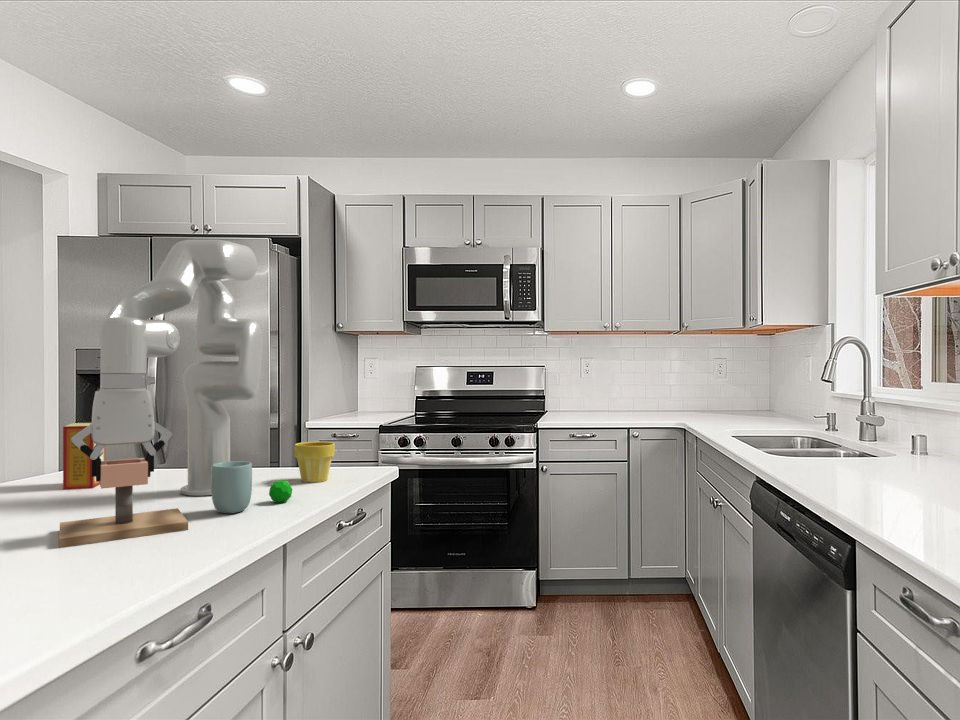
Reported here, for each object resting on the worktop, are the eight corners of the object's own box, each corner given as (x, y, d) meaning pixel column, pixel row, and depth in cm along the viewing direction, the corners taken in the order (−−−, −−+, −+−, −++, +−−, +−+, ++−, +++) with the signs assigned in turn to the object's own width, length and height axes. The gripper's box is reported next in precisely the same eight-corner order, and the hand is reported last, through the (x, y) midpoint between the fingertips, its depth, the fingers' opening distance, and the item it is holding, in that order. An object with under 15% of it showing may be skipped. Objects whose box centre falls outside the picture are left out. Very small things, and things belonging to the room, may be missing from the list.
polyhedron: (273, 505, 135) (273, 483, 135) (265, 501, 139) (265, 480, 139) (295, 502, 139) (295, 481, 139) (287, 498, 142) (287, 478, 142)
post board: (177, 515, 127) (177, 474, 127) (188, 529, 116) (188, 484, 116) (59, 530, 116) (59, 485, 116) (59, 547, 105) (59, 497, 105)
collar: (143, 478, 121) (143, 457, 121) (147, 484, 115) (147, 462, 115) (99, 482, 117) (99, 461, 117) (101, 488, 110) (101, 466, 110)
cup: (259, 508, 133) (259, 462, 133) (234, 517, 125) (234, 467, 125) (230, 506, 135) (230, 460, 135) (203, 514, 128) (203, 465, 128)
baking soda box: (77, 482, 162) (77, 421, 163) (105, 481, 164) (105, 420, 164) (63, 489, 153) (63, 425, 153) (92, 488, 155) (92, 424, 155)
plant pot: (324, 475, 172) (324, 440, 172) (341, 480, 164) (341, 443, 164) (288, 479, 165) (288, 443, 165) (304, 485, 157) (304, 447, 157)
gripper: (172, 382, 124) (172, 471, 124) (67, 383, 114) (67, 480, 114) (178, 383, 118) (177, 476, 117) (68, 384, 108) (67, 486, 108)
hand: (123, 477), depth 116 cm, fingers closed on collar, 7 cm apart
